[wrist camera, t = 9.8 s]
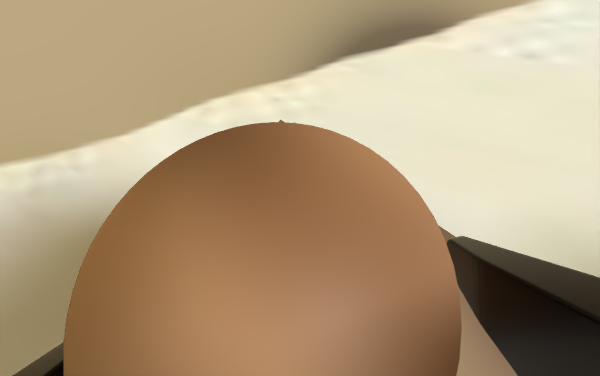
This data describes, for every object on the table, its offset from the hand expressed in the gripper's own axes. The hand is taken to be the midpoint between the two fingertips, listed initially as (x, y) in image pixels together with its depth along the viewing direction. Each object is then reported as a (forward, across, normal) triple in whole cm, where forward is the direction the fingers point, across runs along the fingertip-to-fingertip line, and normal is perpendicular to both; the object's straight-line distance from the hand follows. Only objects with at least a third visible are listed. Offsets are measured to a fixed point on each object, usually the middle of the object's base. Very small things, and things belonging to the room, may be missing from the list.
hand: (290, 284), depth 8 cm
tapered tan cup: (+5, 0, +6) cm, 8 cm away
